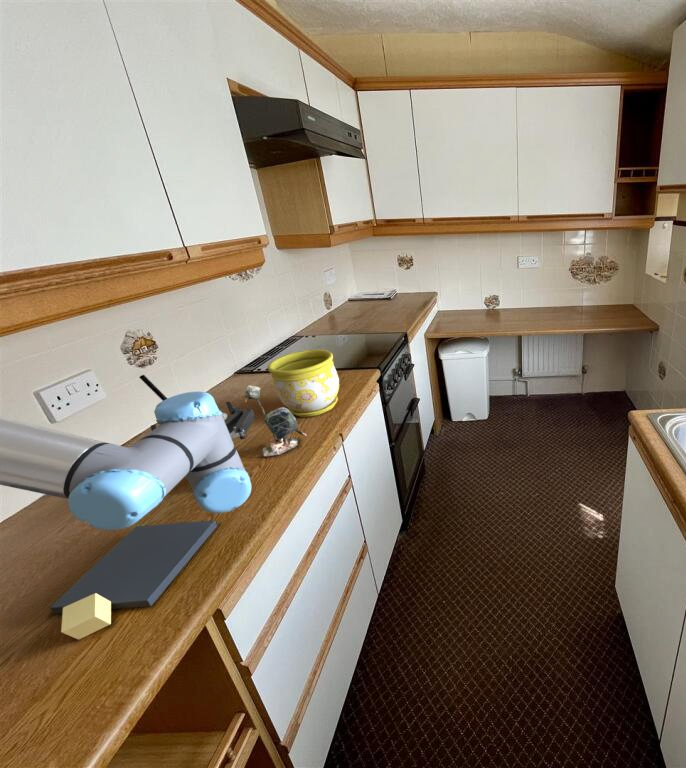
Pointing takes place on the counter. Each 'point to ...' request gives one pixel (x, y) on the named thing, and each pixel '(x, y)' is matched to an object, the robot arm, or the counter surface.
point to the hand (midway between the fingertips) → (194, 418)
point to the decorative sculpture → (276, 426)
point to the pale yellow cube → (86, 616)
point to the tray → (140, 565)
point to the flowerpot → (306, 382)
